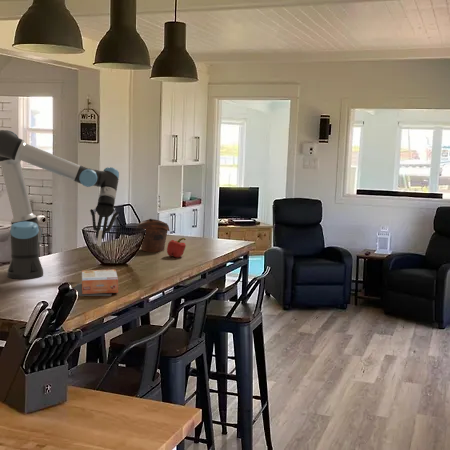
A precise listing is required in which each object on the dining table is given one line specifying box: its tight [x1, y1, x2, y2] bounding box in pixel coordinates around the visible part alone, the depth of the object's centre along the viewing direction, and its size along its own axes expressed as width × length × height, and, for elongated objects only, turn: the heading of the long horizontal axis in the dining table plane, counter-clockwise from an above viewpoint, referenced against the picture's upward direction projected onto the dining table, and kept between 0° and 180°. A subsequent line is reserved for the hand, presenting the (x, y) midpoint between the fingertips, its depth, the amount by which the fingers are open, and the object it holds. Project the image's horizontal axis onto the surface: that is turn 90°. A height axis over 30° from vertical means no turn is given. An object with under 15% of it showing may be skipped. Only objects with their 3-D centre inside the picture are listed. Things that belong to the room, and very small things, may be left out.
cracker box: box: [81, 268, 119, 294], centre depth 253 cm, size 14×6×21 cm
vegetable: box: [166, 237, 187, 259], centre depth 334 cm, size 11×10×10 cm
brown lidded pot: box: [136, 218, 170, 253], centre depth 355 cm, size 18×20×18 cm
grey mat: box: [73, 283, 113, 297], centre depth 253 cm, size 16×20×1 cm
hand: (98, 244), depth 279 cm, fingers closed
